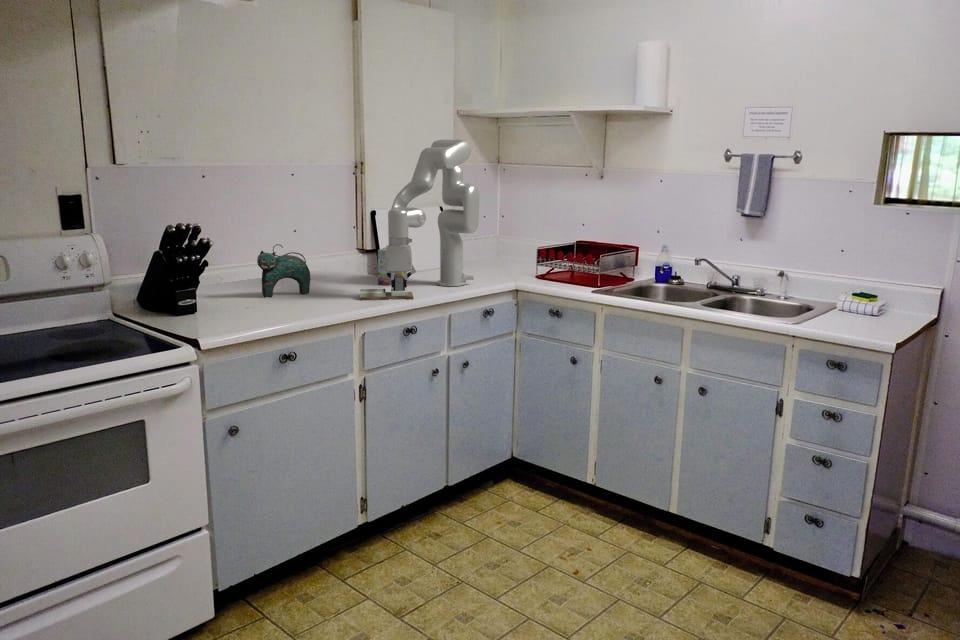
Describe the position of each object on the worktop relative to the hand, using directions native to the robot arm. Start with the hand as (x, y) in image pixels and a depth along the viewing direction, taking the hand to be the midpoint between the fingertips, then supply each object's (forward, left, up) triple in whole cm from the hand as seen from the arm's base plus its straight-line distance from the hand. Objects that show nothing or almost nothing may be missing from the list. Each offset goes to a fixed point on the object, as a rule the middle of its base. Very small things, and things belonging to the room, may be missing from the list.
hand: (399, 289), depth 280 cm
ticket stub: (0, 0, -2) cm, 2 cm away
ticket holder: (+5, 0, -3) cm, 6 cm away
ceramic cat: (+44, -8, -3) cm, 45 cm away
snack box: (+2, -37, -3) cm, 37 cm away
